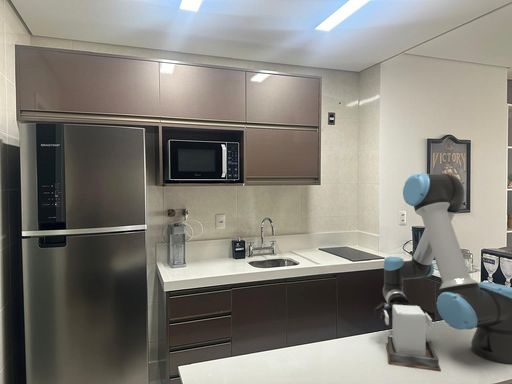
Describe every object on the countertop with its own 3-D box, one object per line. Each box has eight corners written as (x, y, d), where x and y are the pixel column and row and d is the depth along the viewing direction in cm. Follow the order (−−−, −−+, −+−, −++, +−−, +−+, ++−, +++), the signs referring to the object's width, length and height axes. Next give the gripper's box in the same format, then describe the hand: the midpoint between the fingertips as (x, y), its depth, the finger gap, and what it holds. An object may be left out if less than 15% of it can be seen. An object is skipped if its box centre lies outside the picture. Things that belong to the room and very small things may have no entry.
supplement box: (426, 361, 113) (426, 314, 113) (396, 359, 115) (396, 313, 115) (419, 349, 122) (419, 305, 122) (391, 346, 124) (392, 303, 123)
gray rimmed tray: (432, 349, 123) (432, 340, 122) (440, 371, 108) (440, 361, 108) (386, 344, 127) (386, 335, 127) (388, 364, 113) (388, 354, 113)
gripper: (431, 313, 138) (449, 336, 117) (364, 309, 143) (370, 330, 122) (431, 294, 138) (449, 313, 117) (364, 290, 143) (370, 308, 122)
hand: (408, 322), depth 119 cm, fingers open, 13 cm apart
